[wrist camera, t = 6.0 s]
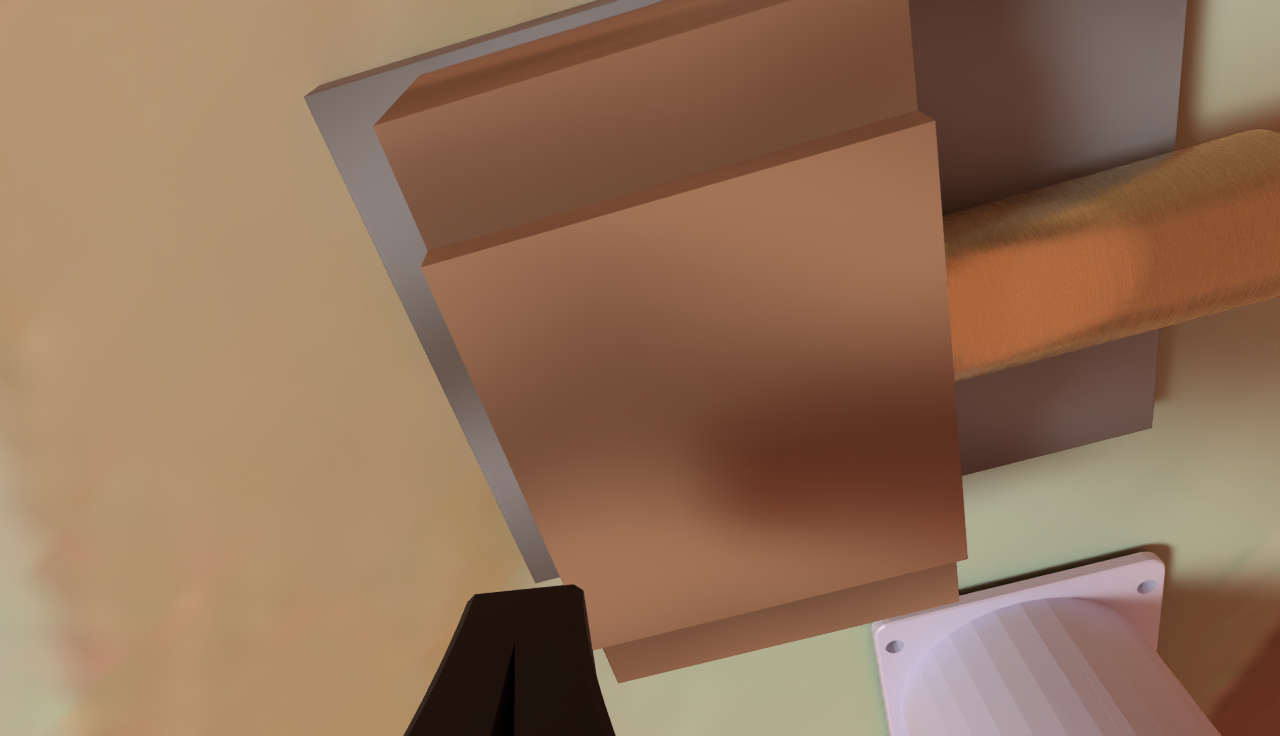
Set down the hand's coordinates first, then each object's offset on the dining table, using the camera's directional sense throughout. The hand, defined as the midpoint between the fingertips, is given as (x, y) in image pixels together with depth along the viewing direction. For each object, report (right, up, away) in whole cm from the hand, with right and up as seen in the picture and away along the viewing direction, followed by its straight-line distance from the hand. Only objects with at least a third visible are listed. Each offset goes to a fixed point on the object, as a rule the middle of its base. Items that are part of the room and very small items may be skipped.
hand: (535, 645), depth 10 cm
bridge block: (+4, +6, +7) cm, 10 cm away
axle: (+6, +5, +6) cm, 10 cm away
